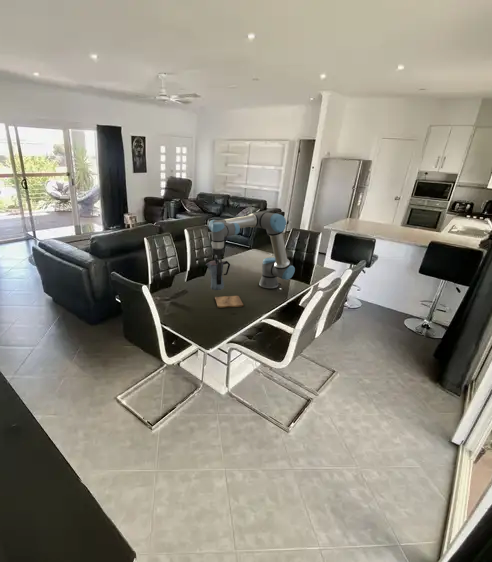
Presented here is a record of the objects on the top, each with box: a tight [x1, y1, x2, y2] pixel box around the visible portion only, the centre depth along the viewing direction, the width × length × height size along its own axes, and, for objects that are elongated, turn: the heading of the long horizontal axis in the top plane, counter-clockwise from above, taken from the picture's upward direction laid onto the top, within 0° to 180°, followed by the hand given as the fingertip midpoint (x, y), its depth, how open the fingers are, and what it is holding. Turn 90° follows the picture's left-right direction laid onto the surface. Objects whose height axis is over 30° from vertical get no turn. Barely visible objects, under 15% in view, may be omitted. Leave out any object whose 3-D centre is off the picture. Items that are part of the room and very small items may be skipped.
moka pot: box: [205, 259, 231, 291], centre depth 204 cm, size 10×15×20 cm, turn 95°
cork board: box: [214, 295, 244, 309], centre depth 232 cm, size 18×16×1 cm
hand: (217, 281), depth 207 cm, fingers closed on moka pot, 8 cm apart
